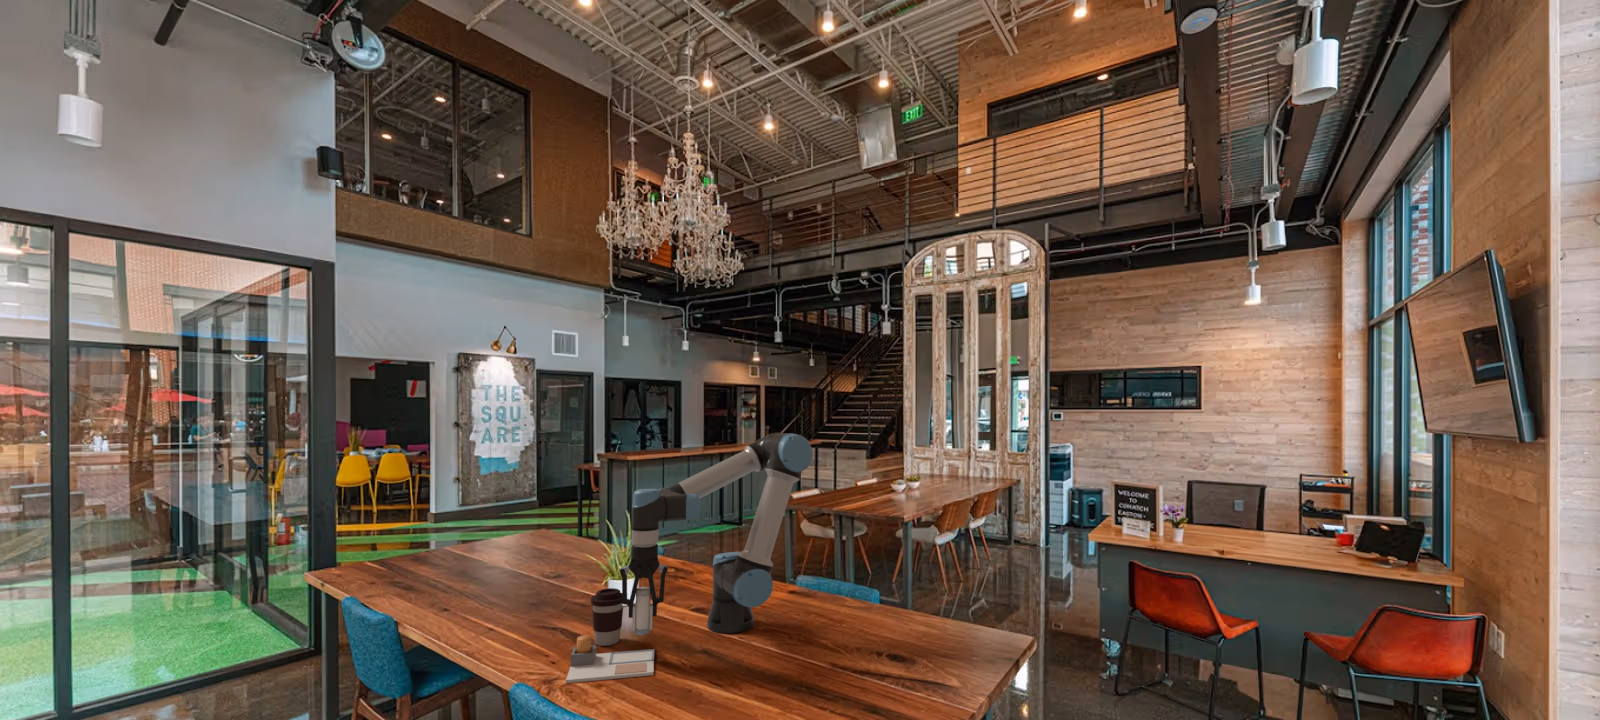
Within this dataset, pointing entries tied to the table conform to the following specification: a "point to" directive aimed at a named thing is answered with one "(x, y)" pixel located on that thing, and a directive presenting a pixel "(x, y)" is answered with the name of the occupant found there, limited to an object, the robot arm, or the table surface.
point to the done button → (584, 644)
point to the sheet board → (609, 665)
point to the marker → (642, 611)
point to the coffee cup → (607, 616)
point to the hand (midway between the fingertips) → (642, 628)
